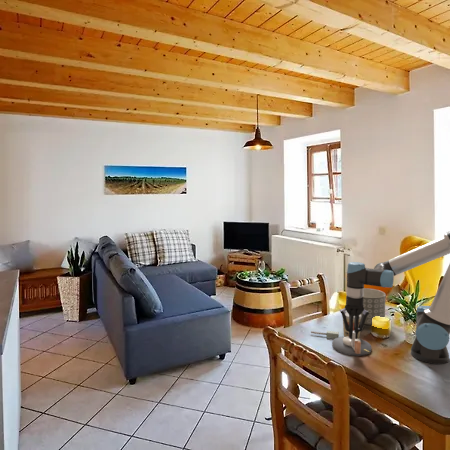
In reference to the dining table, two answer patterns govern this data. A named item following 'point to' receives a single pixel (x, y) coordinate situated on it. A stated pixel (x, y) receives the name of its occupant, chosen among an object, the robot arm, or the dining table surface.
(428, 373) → the dining table surface
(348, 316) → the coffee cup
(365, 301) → the planter
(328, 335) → the screwdriver
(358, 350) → the cream rounded piece
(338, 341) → the dark grey round plate
